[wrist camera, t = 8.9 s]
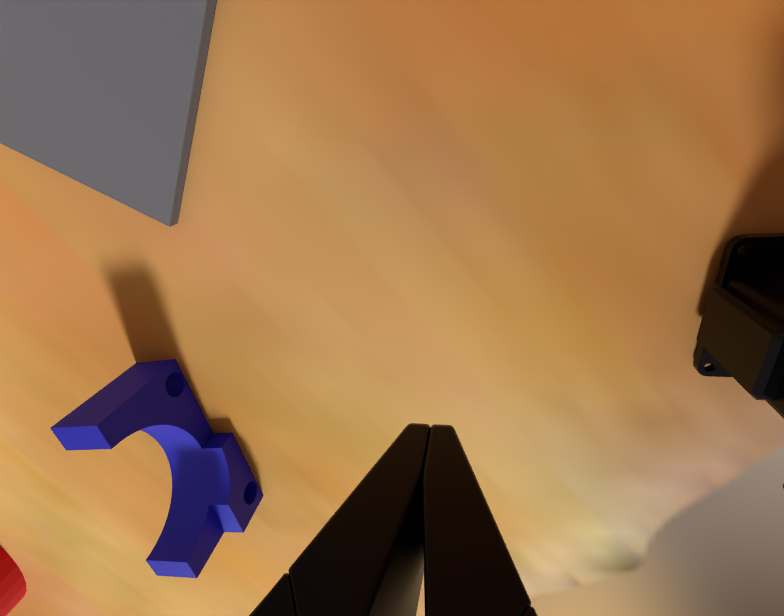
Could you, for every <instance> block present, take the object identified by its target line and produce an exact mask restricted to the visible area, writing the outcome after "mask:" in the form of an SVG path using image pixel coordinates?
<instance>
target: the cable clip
mask: <svg viewBox="0 0 784 616" xmlns="http://www.w3.org/2000/svg"><path fill="white" fill-rule="evenodd" d="M51 430H52V431H53V433H54V434H55V435H56V437H57V438H58V440H59V441H60V442H61V444H62V445H63V446H64V448H65V449H66V450H91V449H112V448H113V447H114V446H116V445H117V444H118V443H119V442H120V441H122V440H123V439H124V438H126V437H127V436H129V435H131V434H133V433H134V432H136V431H139V430H142V431H144V432H146V433H148V434H149V435H151V436H152V437H153V438H155V439H156V440H157V441H158V442H159V444H160V445H161V446H162V448H163V450H164V451H165V453H166V455H167V458H168V460H169V464H170V468H171V473H172V498H171V504H170V509H169V513H168V517H167V520H166V523H165V526H164V528H163V531H162V533H161V535H160V537H159V539H158V541H157V543H156V545H155V547H154V548H153V550H152V552H151V553H150V555H149V556H148V558H147V559H146V561H147V562H148V564H149V565H150V567H151V568H152V569H153V571H154V572H155V573H156V575H158V576H173V577H188V578H197V577H198V576H199V574H200V572H201V571H202V569H203V567H204V566H205V564H206V562H207V560H208V559H209V557H210V555H211V554H212V552H213V550H214V548H215V547H216V545H217V543H218V542H219V540H220V538H221V536H222V535H223V533H224V532H244V531H245V529H246V527H247V525H248V523H249V521H250V520H251V518H252V516H253V514H254V512H255V510H256V508H257V507H258V505H259V503H260V501H261V499H262V497H263V494H262V492H261V490H260V488H259V486H258V484H257V482H256V480H255V478H254V476H253V474H252V472H251V470H250V468H249V465H248V463H247V461H246V459H245V457H244V455H243V453H242V451H241V449H240V447H239V445H238V443H237V441H236V439H235V437H234V435H233V433H217V434H213V432H212V430H211V428H210V426H209V424H208V422H207V420H206V418H205V416H204V414H203V412H202V410H201V408H200V406H199V404H198V402H197V400H196V399H195V397H194V395H193V393H192V391H191V389H190V387H189V385H188V383H187V381H186V379H185V377H184V375H183V373H182V371H181V369H180V367H179V365H178V363H177V361H176V360H175V359H173V360H162V361H152V362H142V363H136V364H134V365H133V366H132V367H130V368H129V369H128V370H126V371H125V372H124V373H122V374H121V375H120V376H119V377H117V378H116V379H115V380H113V381H112V382H111V383H109V384H108V385H107V386H105V387H104V388H103V389H101V390H100V391H99V392H97V393H96V394H95V395H93V396H92V397H91V398H89V399H88V400H87V401H85V402H84V403H83V404H81V405H80V406H79V407H77V408H76V409H75V410H74V411H72V412H71V413H70V414H68V415H67V416H66V417H64V418H63V419H62V420H60V421H59V422H58V423H56V424H55V425H54V426H52V427H51Z"/></svg>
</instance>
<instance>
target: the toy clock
mask: <svg viewBox="0 0 784 616" xmlns="http://www.w3.org/2000/svg"><path fill="white" fill-rule="evenodd" d="M25 593H26V582H25V579H24V576H23V574H22V572H21V571H20V569H19V567H18V566H17V564H16V563H15V562H14V561H13V559H12V558H11V557H10V556H9V555H8V554H7V553H6V551H5V550H4V549H3V548H2V547H1V546H0V616H6V615H7V614H8V613H9V612H10V611H11V610H12V609H13V608H14V607H15V606H16V605H17V604H18V602H19V601H20V600H21V599H22V598H23V597H24V595H25Z"/></svg>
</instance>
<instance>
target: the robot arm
mask: <svg viewBox="0 0 784 616" xmlns="http://www.w3.org/2000/svg"><path fill="white" fill-rule="evenodd" d="M744 244H747V248H746V250H744V251H743V252H740V253H738V250H739V248H740V247H741V246H742V245H744ZM697 341H698V342H699V344H698V347H697V351H696V354H695V358H694V361H693V366H694V367H695V369H696V370H697V371H698V372H699V373H700V374H701V375H703V376H716V377H734V379H735V380H736V381H737V382H738V383H739V384H740V385H741V386H742V387H743V388H744V389H745V390H746V391H747V392H748V393H749V394H750V395H751V396H752V397H753V398H755V399H756V400H766V401H767V402H768V403H769V404H770V405H771V406H772V407H773V408H774V409H775V410H776V411H777V412H778V413H779V414H780V415H781V416H782V417H783V418H784V233H774V234H746V235H739V236H736V237H734V238H732V239H731V240H730V241H729V242H728V243H727V245H726V247H725V251H724V254H723V258H722V262H721V265H720V269H719V272H718V276H717V279H716V283H715V286H714V287H713V288H712V289H711V290H710V292H709V295H708V299H707V303H706V306H705V310H704V313H703V317H702V321H701V324H700V328H699V331H698V335H697ZM711 362H712V363H711ZM707 363H711V365H709V366H707V367H704V366H705V365H706V364H707ZM783 488H784V484H783ZM423 573H424V590H425V616H537V614H536V612H535V609H534V608H533V607H531V601H530V599H529V596H528V594H527V592H526V590H525V587H524V585H523V583H522V581H521V578H520V576H519V574H518V572H517V569H516V567H515V565H514V563H513V560H512V558H511V556H510V553H509V551H508V549H507V547H506V544H505V542H504V540H503V538H502V535H501V533H500V531H499V529H498V526H497V524H496V522H495V520H494V517H493V515H492V513H491V511H490V508H489V506H488V504H487V502H486V499H485V497H484V495H483V492H482V490H481V488H480V486H479V483H478V481H477V479H476V477H475V474H474V472H473V470H472V468H471V465H470V463H469V461H468V459H467V456H466V454H465V452H464V450H463V447H462V445H461V443H460V441H459V438H458V436H457V434H456V431H455V429H454V428H453V427H452V426H451V425H436V424H435V425H432V426H431V427H430V426H429V425H428V424H417V423H411V424H408V425H407V426H406V428H405V429H404V430H403V431H402V432H401V434H400V435H399V436H398V437H397V438H396V440H395V441H394V442H393V443H392V445H391V446H390V447H389V448H388V449H387V451H386V452H385V453H384V454H383V455H382V457H381V458H380V459H379V460H378V461H377V463H376V464H375V465H374V466H373V468H372V469H371V470H370V471H369V472H368V474H367V475H366V476H365V477H364V478H363V480H362V481H361V482H360V483H359V485H358V486H357V487H356V488H355V489H354V491H353V492H352V493H351V494H350V495H349V497H348V498H347V499H346V500H345V501H344V503H343V504H342V505H341V506H340V508H339V509H338V510H337V511H336V512H335V514H334V515H333V516H332V517H331V518H330V520H329V521H328V522H327V523H326V524H325V526H324V527H323V528H322V529H321V531H320V532H319V533H318V534H317V535H316V537H315V538H314V539H313V540H312V541H311V543H310V544H309V545H308V546H307V548H306V549H305V550H304V551H303V552H302V554H301V555H300V556H299V557H298V558H297V560H296V561H295V562H294V563H293V564H292V566H291V567H290V568H289V574H288V573H285V574H284V575H283V576H282V577H281V579H280V580H279V581H278V582H277V583H276V585H275V586H274V587H273V588H272V590H271V591H270V592H269V593H268V594H267V596H266V597H265V598H264V599H263V600H262V601H261V603H260V604H259V605H258V606H257V607H256V608H255V610H254V611H253V612H252V613H251V614H250V615H249V616H416V612H417V606H418V601H419V595H420V590H421V584H422V578H423Z"/></svg>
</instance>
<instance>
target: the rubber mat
mask: <svg viewBox="0 0 784 616" xmlns="http://www.w3.org/2000/svg"><path fill="white" fill-rule="evenodd" d="M216 2H217V0H0V143H1V144H3V145H5V146H7V147H9V148H11V149H13V150H15V151H17V152H19V153H22V154H24V155H26V156H28V157H30V158H32V159H34V160H36V161H38V162H40V163H42V164H44V165H46V166H48V167H50V168H52V169H54V170H56V171H58V172H60V173H62V174H64V175H66V176H68V177H70V178H72V179H74V180H76V181H78V182H80V183H82V184H84V185H86V186H88V187H90V188H92V189H94V190H96V191H98V192H101V193H103V194H105V195H107V196H109V197H111V198H113V199H115V200H117V201H119V202H121V203H123V204H125V205H127V206H129V207H131V208H133V209H135V210H137V211H139V212H141V213H143V214H145V215H147V216H149V217H151V218H153V219H155V220H157V221H159V222H161V223H163V224H165V225H167V226H169V227H170V226H172V225H175V224H177V223H178V217H179V211H180V206H181V200H182V194H183V189H184V183H185V177H186V172H187V166H188V161H189V155H190V149H191V144H192V138H193V132H194V127H195V121H196V115H197V110H198V104H199V98H200V93H201V87H202V81H203V76H204V70H205V64H206V59H207V53H208V47H209V42H210V36H211V30H212V25H213V19H214V13H215V8H216Z"/></svg>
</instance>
